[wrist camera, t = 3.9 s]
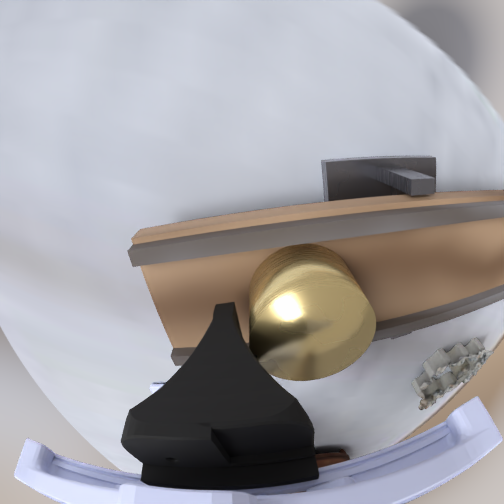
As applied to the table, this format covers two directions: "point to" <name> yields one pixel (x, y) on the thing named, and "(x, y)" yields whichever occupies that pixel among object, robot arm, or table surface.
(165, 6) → the table surface
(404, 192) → the pivot bracket
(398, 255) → the beam
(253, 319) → the brass weight
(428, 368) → the egg carton
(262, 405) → the robot arm
